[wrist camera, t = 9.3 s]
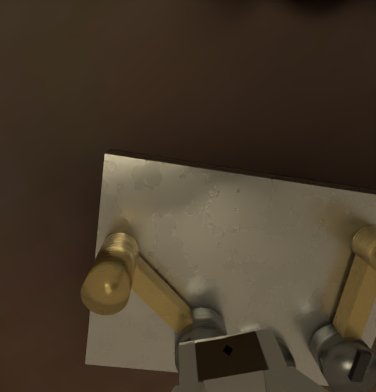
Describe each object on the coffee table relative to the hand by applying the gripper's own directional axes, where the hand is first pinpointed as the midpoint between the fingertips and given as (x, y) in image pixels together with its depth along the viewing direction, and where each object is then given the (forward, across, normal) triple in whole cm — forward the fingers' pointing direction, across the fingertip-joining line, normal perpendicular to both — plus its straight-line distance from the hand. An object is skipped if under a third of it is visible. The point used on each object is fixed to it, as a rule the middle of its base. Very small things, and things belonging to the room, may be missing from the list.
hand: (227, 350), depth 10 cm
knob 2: (+12, -10, +9) cm, 18 cm away
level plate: (+15, -3, +7) cm, 16 cm away
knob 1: (+12, +3, +6) cm, 14 cm away
